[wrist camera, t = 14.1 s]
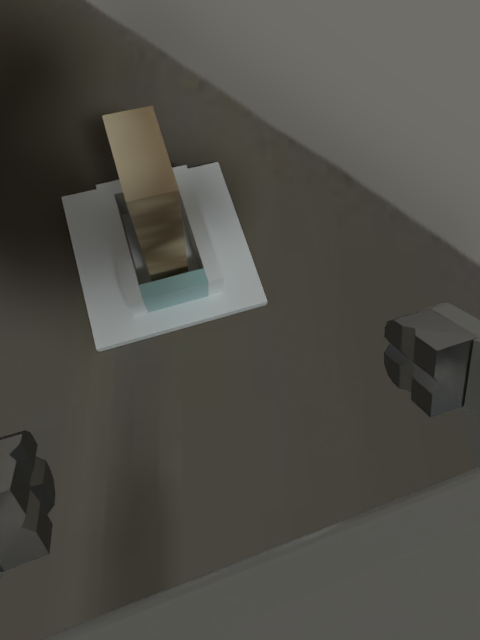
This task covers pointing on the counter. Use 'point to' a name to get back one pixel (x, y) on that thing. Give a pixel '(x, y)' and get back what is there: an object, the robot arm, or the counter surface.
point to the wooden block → (149, 189)
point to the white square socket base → (131, 270)
